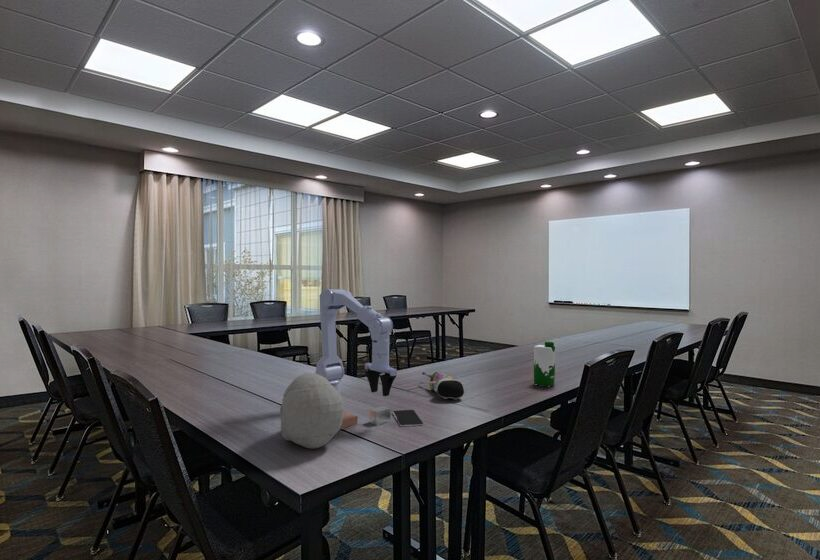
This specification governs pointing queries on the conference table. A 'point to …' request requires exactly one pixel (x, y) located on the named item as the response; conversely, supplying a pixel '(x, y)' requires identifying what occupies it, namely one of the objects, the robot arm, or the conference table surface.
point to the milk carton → (544, 364)
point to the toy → (445, 385)
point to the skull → (311, 411)
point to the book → (348, 420)
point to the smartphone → (407, 418)
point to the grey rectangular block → (379, 415)
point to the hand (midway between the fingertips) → (380, 393)
